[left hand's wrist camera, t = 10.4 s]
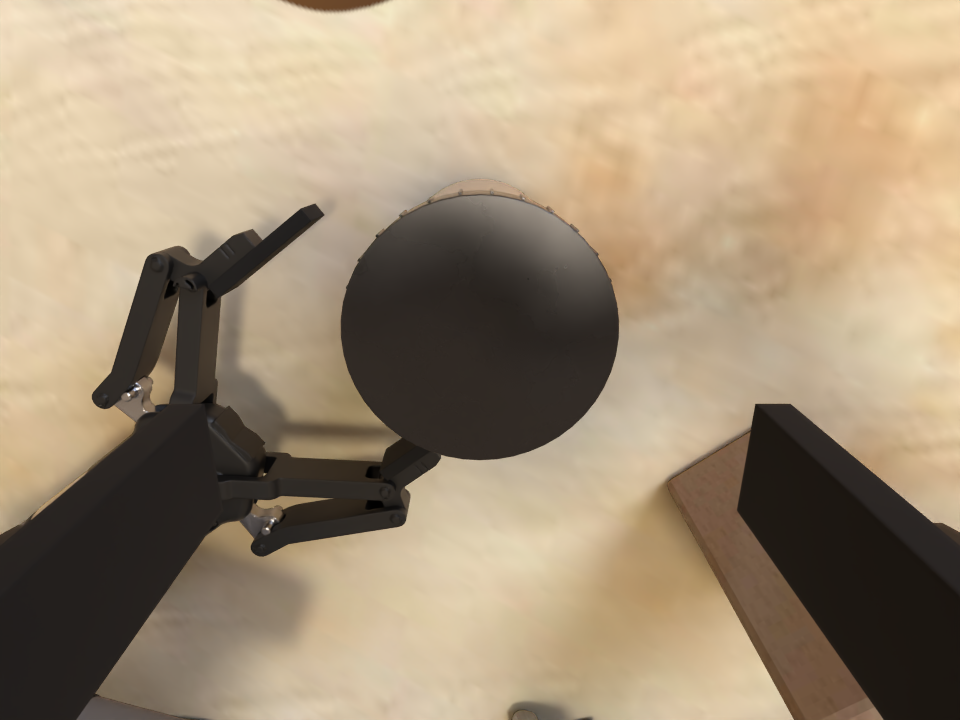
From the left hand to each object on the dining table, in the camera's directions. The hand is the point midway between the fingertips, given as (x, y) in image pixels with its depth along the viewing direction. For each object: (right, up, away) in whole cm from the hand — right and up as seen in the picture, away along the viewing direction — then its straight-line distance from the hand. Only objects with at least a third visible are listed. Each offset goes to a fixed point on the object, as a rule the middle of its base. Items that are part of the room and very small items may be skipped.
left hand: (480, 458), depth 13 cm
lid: (0, +3, +9) cm, 9 cm away
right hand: (-4, +5, +19) cm, 20 cm away
